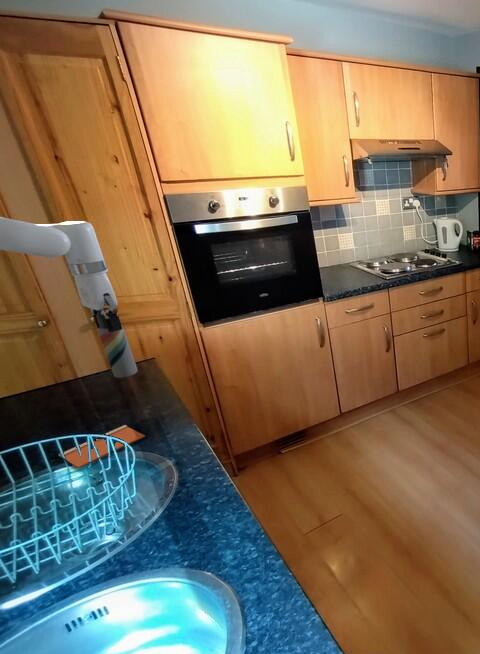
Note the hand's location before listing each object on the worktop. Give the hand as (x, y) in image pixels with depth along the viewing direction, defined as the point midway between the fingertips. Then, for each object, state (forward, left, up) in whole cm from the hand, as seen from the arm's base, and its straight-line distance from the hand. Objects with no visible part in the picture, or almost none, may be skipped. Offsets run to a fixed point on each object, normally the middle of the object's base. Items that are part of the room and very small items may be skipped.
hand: (110, 328), depth 131 cm
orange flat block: (-19, -25, -21) cm, 37 cm away
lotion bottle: (0, 0, -15) cm, 15 cm away
